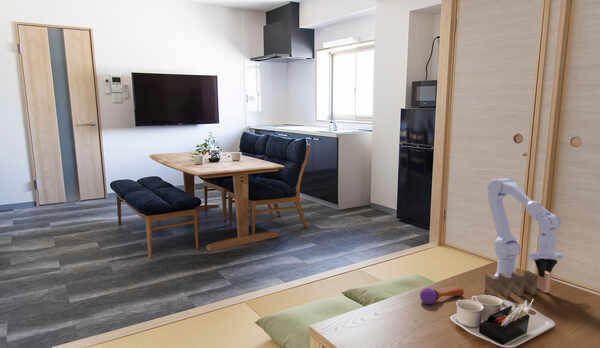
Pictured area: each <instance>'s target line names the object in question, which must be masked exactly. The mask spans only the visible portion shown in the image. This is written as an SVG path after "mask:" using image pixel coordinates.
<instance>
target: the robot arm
mask: <svg viewBox="0 0 600 348" xmlns="http://www.w3.org/2000/svg"><path fill="white" fill-rule="evenodd" d="M487 190H488V195H487V198H488V202H489V207H490V212H491V214H492V215H491V216H492V219H493V222H494V223H493V224H494V227H495V230H496V235H497V237H496V239H495V240H494V245H495V246H494V252H495V254H496V256H497V265H496V266H497V267H496V272H495V274H494V275H493V276H495V277H496V278H498V277H499V273H504V274H506V275H508V276H510V277H511V274H512V272H517V257H518V255H519V254H521V246H520V244H519V243H518V241H517V240H518V239H517V238H516V237H515V236H514V235H512V232H511V229H510V224H509V220H508V218H507V217H508V216H507V213H506V209H505V206H504V202H503V200H504V199H505V197H506V196H507V195H510V196H512V197H513V198H514V199H516V200H517V201H518V202H519V203H520V204H521V205H523V206H524V207H525V212H526V213H528V215H530V216H531V217H532V218H533V219H534V220H535V221H536V222H537V226H538V228H539V237H538V247H537V252H536V253H535V252H534V253H531V254H528V260H530V261H532V262H533V261H534V263H535V265H536V269H538V274H539V276H541V277H544V274H545V271H547V272H549V273H551V274H552V271H553V268H554V267H555V266H556V265H557V264H558V260H557V259H560V260H561V259H563V258H564V254H563V253H561V252H556V239H557V228H559V227H560V225H561V219H560V217H559V216H558V214H555V213H551V211H549V210H547V209H546V208H545V207H544V206H543V205H542V202H539V201H537V200H532V199H531V198H530V197H529V196H528V195H527V194H526V193H525V192H524V191H523V190H522V189H521V188H520V187H519V186H518V184H517V182H516V181H514V180H513V179H512V178H510V177H505V178H493V179H491V180H490V181H489V182H488V184H487Z"/></svg>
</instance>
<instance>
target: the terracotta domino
mask: <svg viewBox="0 0 600 348" xmlns="http://www.w3.org/2000/svg"><path fill="white" fill-rule="evenodd" d="M536 269H537V268H536ZM536 275H538V281H537V289H538V290H539V291H541V292H543V293H550V288H551V279H552V272H551V273H549V272H547V271H545V274H544V277H541V276H539V274H538V269H537V271H536Z"/></svg>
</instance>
